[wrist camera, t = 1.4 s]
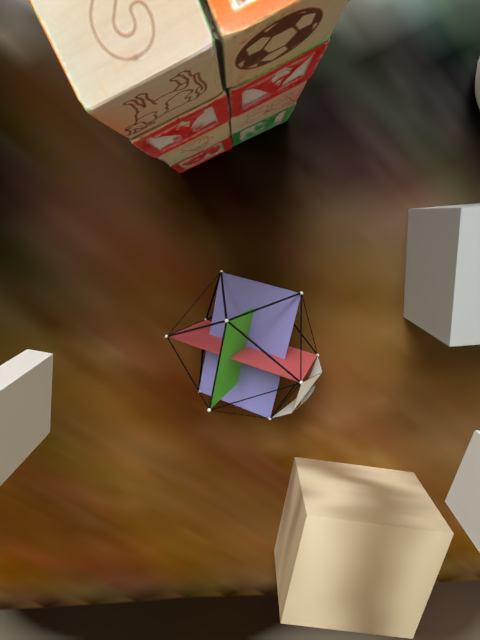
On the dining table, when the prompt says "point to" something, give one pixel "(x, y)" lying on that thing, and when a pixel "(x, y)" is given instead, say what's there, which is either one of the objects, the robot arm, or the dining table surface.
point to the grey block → (444, 272)
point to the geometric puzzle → (251, 346)
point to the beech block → (357, 548)
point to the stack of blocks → (188, 66)
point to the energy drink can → (477, 84)
